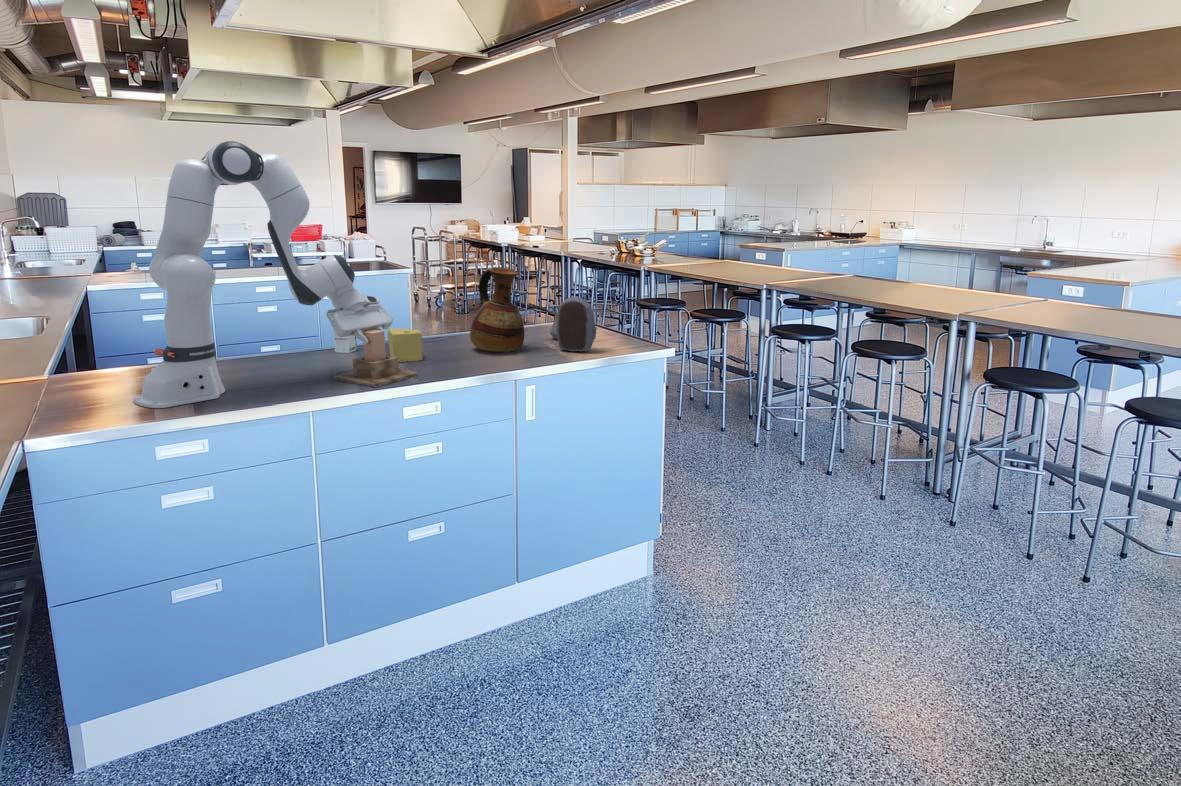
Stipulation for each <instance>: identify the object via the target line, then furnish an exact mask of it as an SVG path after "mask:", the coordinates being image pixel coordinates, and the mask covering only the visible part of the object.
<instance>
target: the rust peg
mask: <svg viewBox="0 0 1181 786" xmlns="http://www.w3.org/2000/svg"><path fill="white" fill-rule="evenodd" d="M362 334H363V335H364V336H366V337H369V339H370V340H371V342H370V343H369V344H366V345H364V343H363V342H362V343H363V357H364V359H365V360H368V361H373V362H376V361H380V360H384V359H386V356H387V355H386V353H387V351H386V350H387V349H386V339H385V338H386V336H385V331H384V330H383V331H380V330H369V331H364V332H363V333H362Z"/></svg>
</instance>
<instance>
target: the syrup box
mask: <svg viewBox="0 0 1181 786" xmlns="http://www.w3.org/2000/svg"><path fill="white" fill-rule="evenodd" d="M332 333H333V334H332V335H333V345H334V352H335V353H339V354H351V353H353V352H356V351H357V350H358V345H357V338H356V337H355V336H354V335H351V336H346V337H339V336H338V335H337V334H336V333H335V331H334V329H333V328H332ZM356 345H357V346H356Z"/></svg>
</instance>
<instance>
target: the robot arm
mask: <svg viewBox="0 0 1181 786" xmlns="http://www.w3.org/2000/svg"><path fill="white" fill-rule="evenodd" d="M171 173H172V174H171V176H170V180H169V183H168V188H167V195H166V201H165V202H166V203H165V210H164V217H163V218H164V219H163V225H162V230H161V234H160V236H159V239H158V242H157V245H156V248H155V252H154V256H153V258H152V259H151V261H150V263H149V267H148V272H149V276H150V277H151V280H152V281H153V282H154V283H155V284H156V285H157V286H158V287H160V288H161V289H162V290H164V291H166V294H167V297H166V308H165V314H164V318H163V320H164V327H165V335H166V340H167V341H166V342H167V344H166V347H165V348H164V349H163V348H159V347H157V348H154V350H153V354H154V355H155V356H159V357H162V361H161V362H159V363H158V365H156V367H154V369H152V370H151V371H150V372H149V373H148V374H147V375H145V377H144V378H143V380H142V384H141V385H142V386H141V395H140V394H139V395H137V396H134V397H133V403H134V404H135V405H138V406H141V407H145V408H150V409H165V408H171V407H177V406H182V405H186V404H192V403H193V404H194V403H198V402H204V401H209V400H215V399H219V398H220V396H221V395H222V394H224V393H225V392H226V389H225V386H224V384H223V382H222V379H221V376H220V373H219V370H218V369H219V368H218V366H217V350H216V349H217V348H216V344H215V342H214V341H213V333H212V326H211V325H212V323H211V302H212V291H213V287H214V285H215V282H216V273H215V270H214V268H213V267H212V266H211V265H210V264H209V262H207V261H206V260H204V259H203V258H202V257H201V254H202V253H203V250H204V247H205V244H206V242H207V241H208V239H209V237H210V236H211V230H212V229H211V228H212V221H213V213H214V205H215V196H216V192H217V190H218V187H220V186H232V185H233V186H237V185H240V184H243V183H249V184H251V185H252V186H253V187H255V188H256V189H257V191H259V193H260V195H261V197H262V199H263V200H264V201H265V203H266V205H267V208H268V211H269V215H270V216H269V221H267V230H268V234H269V237H270V239H271V242H272V244H273V247H274V250H275V252H276V254H277V258H278V260H279V262H280V263H281V264H280V265H281V267H282V269H283V272H284V273H285V276H286V279H287V282H288V285H289V290H290V292H291V294H292V297H293V298H294V299H295V300H296V301H297V302H298V303H299V304H301V305H305V306H311V307H312V306H314V305H315V304H317V303H318V302H320V301H322V299H324V298H326V297H327V298H328V299H329V300H330V301H331V303H332V305H333V307H334V309H328V310H327V311H326V317H327V319H328V320H329V324H330V325H331V327H332V330H333V329H334V331H335V333H336V334H337V335H338V336H339V337H346V336H351V335H354V336H355V337H356V339H358V340H359V341H361V342H362V343H364V344H363V346H364V345H366V344H369V343H370V342H371V340H370V339H369V337H366V336H364V335H363V332H364V331H369V330H380V331H384V330H388V329H390V327H391V326H392V325H393V320H394V319H393V318H392V315H391V314H390V313H389V312H388V310H387V309H386V308H385V306H383V305H382V304H380V299H379V298H378V297H377V296H372V295H367V294H364V293H361V292H360V291H359V290H358V289H357V288H355V286H354V282H355V276H356V274H355V271H354V270H353V269H352V267H351V266H350V265H349V264H348V262H347V261H346V258H345V257H343V256H340V255H338V254H332V255H329V256H327V257H326V258H323V259H322V260H320V261H318V262H316V263H314V264H313V265H311V266H309V267H307V268H305V269H303V270H302V269H301V270H300V268H299V266H298V264H297V261H296V258H295V257H294V254H293V251H292V249H291V247H290V246H291V245H290V239H291V238H292V235H293V234H294V232H295V231H296V229H297V228H298V227H299V226H300V225H301V224H302V222H304V220H305V218H306V217H307V215H308V214H309V213H308V212H309V210H310V199H309V197H308V195H307V193H306V190H305V188H304V187H303V185H302V183H301V182H300V180H299V178H298V177H297V176H296V174H295V172H294V171H293V169H292V168H291V167H290V166H289V165H288V163H287V162H285V160H284V159H283V157H281V156H280V155H279V154H277V153H273V152H272V153H263V154H259V153H257V152H256V151H255V150H253V149H251V148H249V147H248V146H247V145H246V144H243V143H241V142H237V141H233V140H228V141H227V140H226V141H224V142H219V143H217V144H215V145H214V146H212V147H211V149H209V150H208V152H206V154H205V155H204V156H203V157H202V159H200V160H199V159H195V158H184V159H183V158H182V159H181V160H179V161H177V162H176V163H175V165H174V167H173V170H172V172H171ZM385 340H386V337H385Z"/></svg>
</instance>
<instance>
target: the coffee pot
mask: <svg viewBox="0 0 1181 786" xmlns="http://www.w3.org/2000/svg"><path fill="white" fill-rule="evenodd" d="M526 306H527V309H529V307H530V306H531V307H532V308H535V309H538V310H540V311H543V312H546V313H548V314H551V315H554V316H555V319H554V321H553V323H552V325H551V328H550V330H549V333H550V335H551V337H553V338H554V340H556V339H557V337H556V326H557V313H558V312H554V311H551V310H549V309H546V308H544V307H542V306H540V305H536V304H532V303H529V302H528V303H527V305H526ZM559 306H560V305H558V306H556V309H557V311H558V310H559Z"/></svg>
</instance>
